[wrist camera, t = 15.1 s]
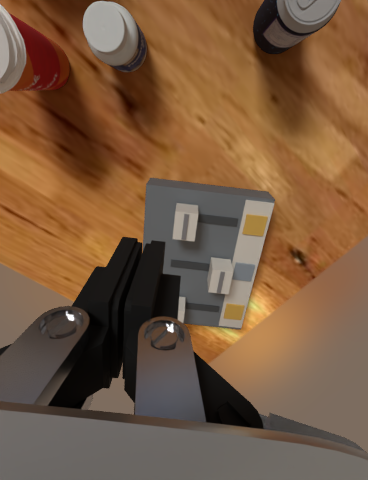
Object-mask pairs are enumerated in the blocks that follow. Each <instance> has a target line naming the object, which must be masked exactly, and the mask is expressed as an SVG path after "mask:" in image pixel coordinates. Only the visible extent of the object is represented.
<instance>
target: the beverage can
mask: <svg viewBox="0 0 368 480" xmlns="http://www.w3.org/2000/svg"><path fill="white" fill-rule="evenodd" d="M340 2H341V0H264V2H263V3H262V5H261V6H260V8H259V10H258V11H257V14H256V16H255V19H254V25H253V33H254V38H255V41H256V43H257V45H258V46H259V47H260V48H261V49H262V50H263V51H265V52H267V53H269V54H279V53H282V52H284V51H286V50H288V49H289V48H291V47H292V46H294V45H296V44H297V43H299V42H300V41H302V40H304V39H305V38H307V37H308V36H310V35H311V34H313V33H315V32H316V31H318V30H319V29H321V28H322V27H324V26H325V25H326V24H327V23H328V22H329V21H330V20H331V18H332V17H333V16H334V14H335V12H336V11H337V9H338V6H339V4H340Z"/></svg>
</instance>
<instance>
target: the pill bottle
mask: <svg viewBox="0 0 368 480" xmlns="http://www.w3.org/2000/svg"><path fill="white" fill-rule="evenodd" d="M83 30H84V34H85V36H86V39H87V41H88V44H89V46H90V48H91V50H92V52H93V53H94V54H95V56H96V57H97V58H98V59H100V60H101V61H102V62H104V63H106V64H108V65H110V66H112V67H114V68H115V69H117V70H120V71H123V72H132V71H135V70H137V69H138V68H139V67H140V66H141V65H142V64H143V62H144V60H145V57H146V52H147V45H146V40H145V37H144V35H143V33H142V31H141V29H140V28H139V26H138V25H137V23H136V22H135V20H134V19H133V17H132V15H131V14H130V13H129V12H128V11H127V10H126V9H125V8H124V7H123V6H121V5H119V4H117V3H114V2H106V1H97V2H94V3H92V4H91V5H90V6H89V7H88V8H87V10H86V11H85V14H84V17H83Z"/></svg>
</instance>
